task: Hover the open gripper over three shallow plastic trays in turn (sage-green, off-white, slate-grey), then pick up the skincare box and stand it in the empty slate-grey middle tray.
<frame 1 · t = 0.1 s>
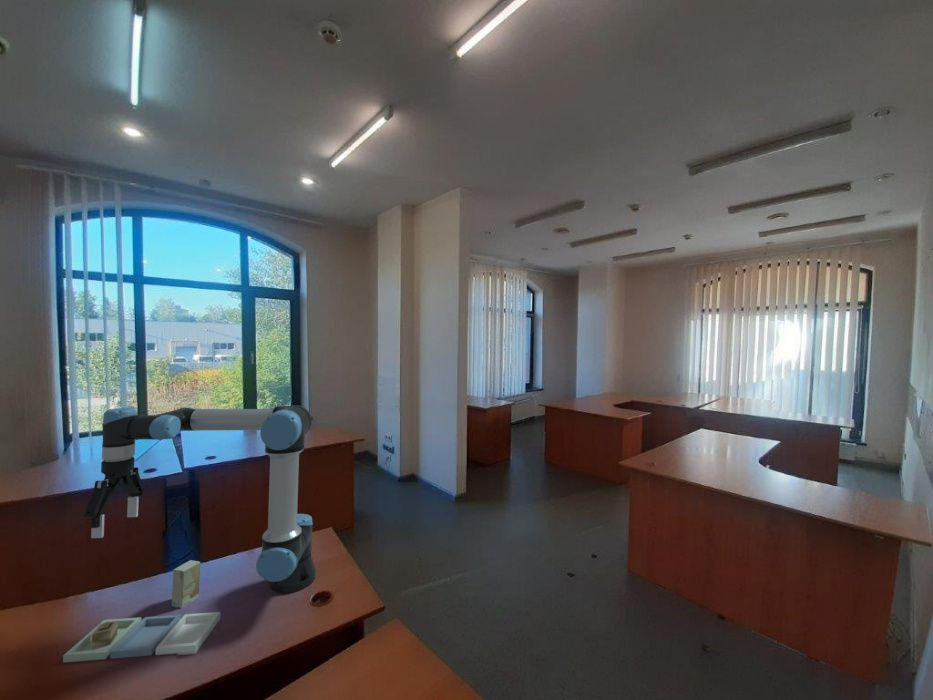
hand: (116, 526, 115), 28 cm above the table, fingers open, 13 cm apart
skincare box: (185, 603, 122), on the table
tray C: (104, 643, 104), on the table
tray B: (147, 640, 106), on the table
tray A: (189, 637, 107), on the table
letter cube: (104, 641, 104), point 1 cm above the table, touching tray C
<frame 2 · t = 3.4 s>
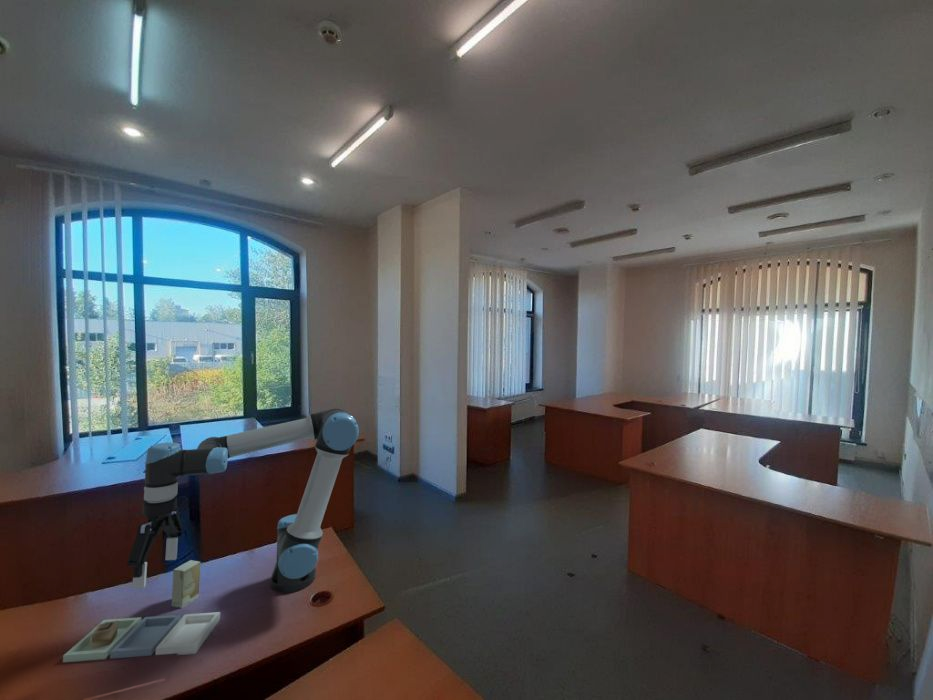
hand: (156, 572, 106), 19 cm above the table, fingers open, 13 cm apart
nothing on the table moved.
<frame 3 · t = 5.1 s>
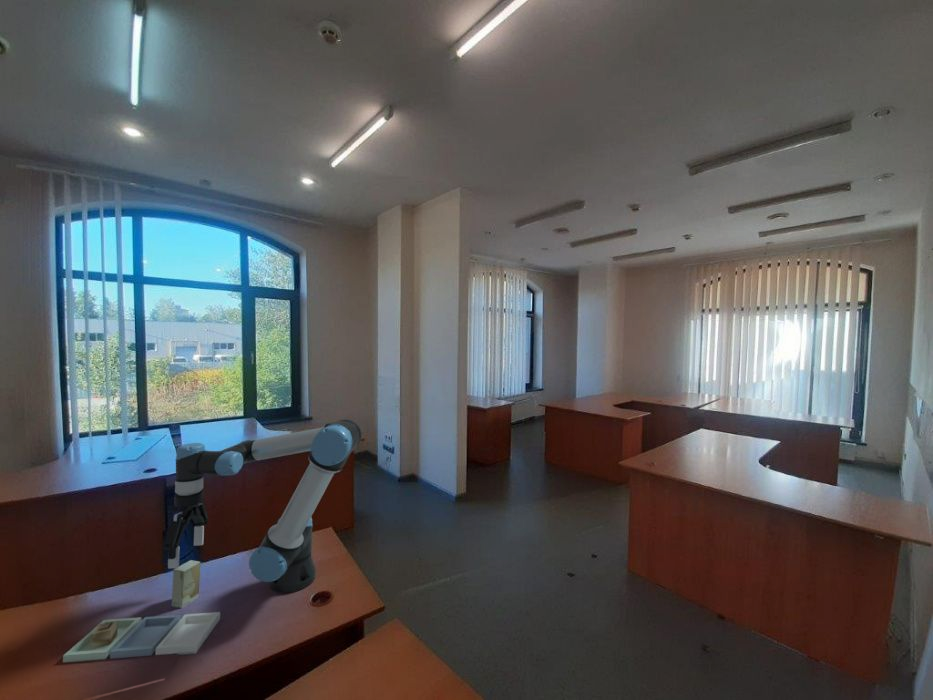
hand: (186, 555, 122), 15 cm above the table, fingers open, 13 cm apart
nothing on the table moved.
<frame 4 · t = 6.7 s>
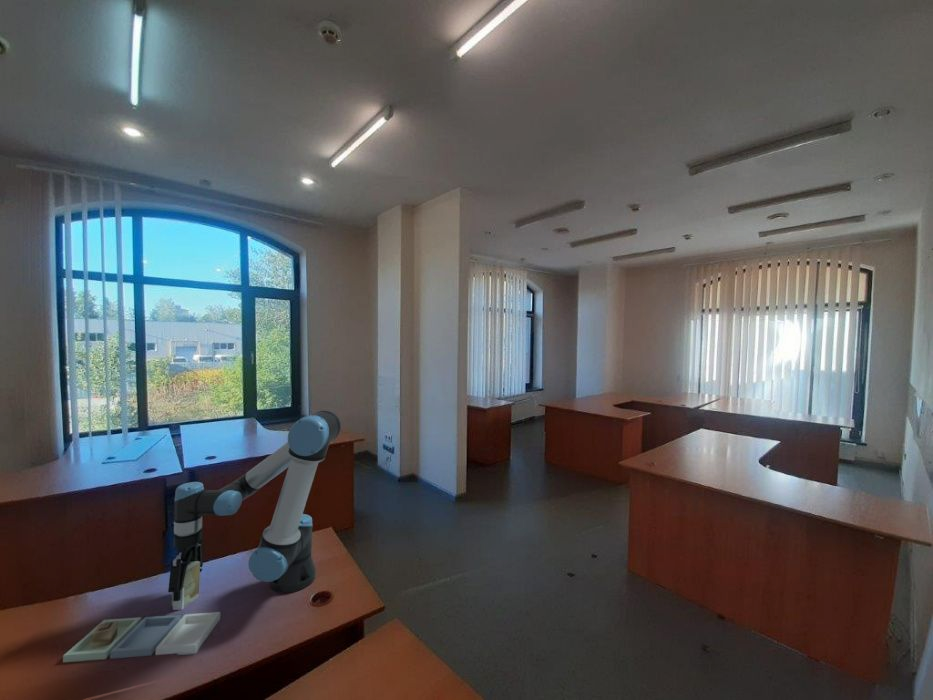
hand: (185, 600, 122), 1 cm above the table, fingers closed on skincare box, 7 cm apart
skincare box: (185, 603, 122), on the table, touching gripper
everything else where it was.
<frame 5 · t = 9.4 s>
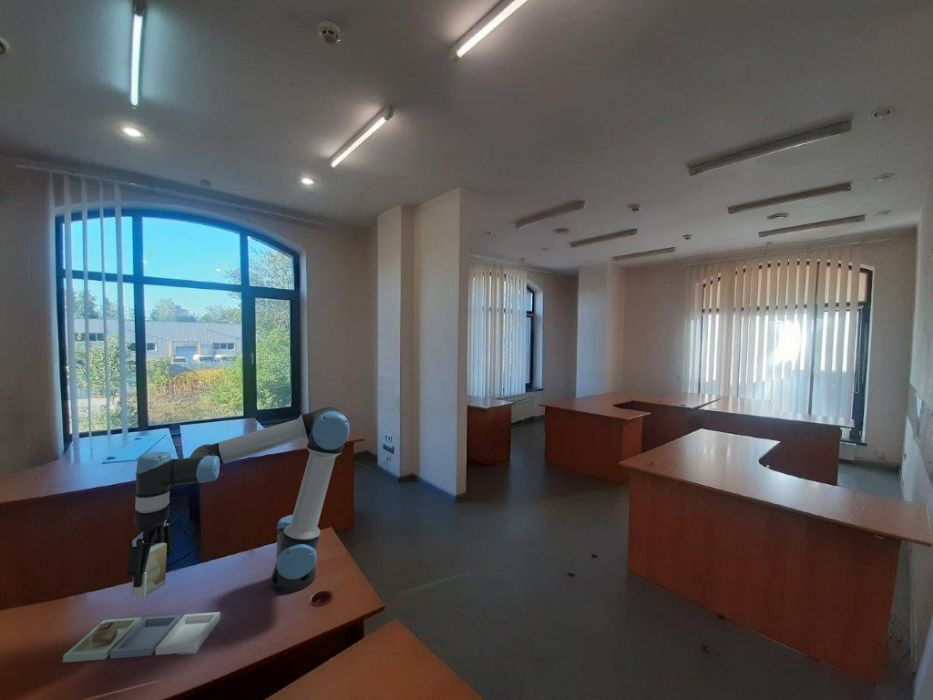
hand: (149, 587, 106), 15 cm above the table, fingers closed on skincare box, 7 cm apart
skincare box: (149, 590, 106), point 14 cm above the table, touching gripper
everything else where it was.
when the fingers open (2 cm above the table, at t = 12.2 s): skincare box stays where it is, resting on tray B.
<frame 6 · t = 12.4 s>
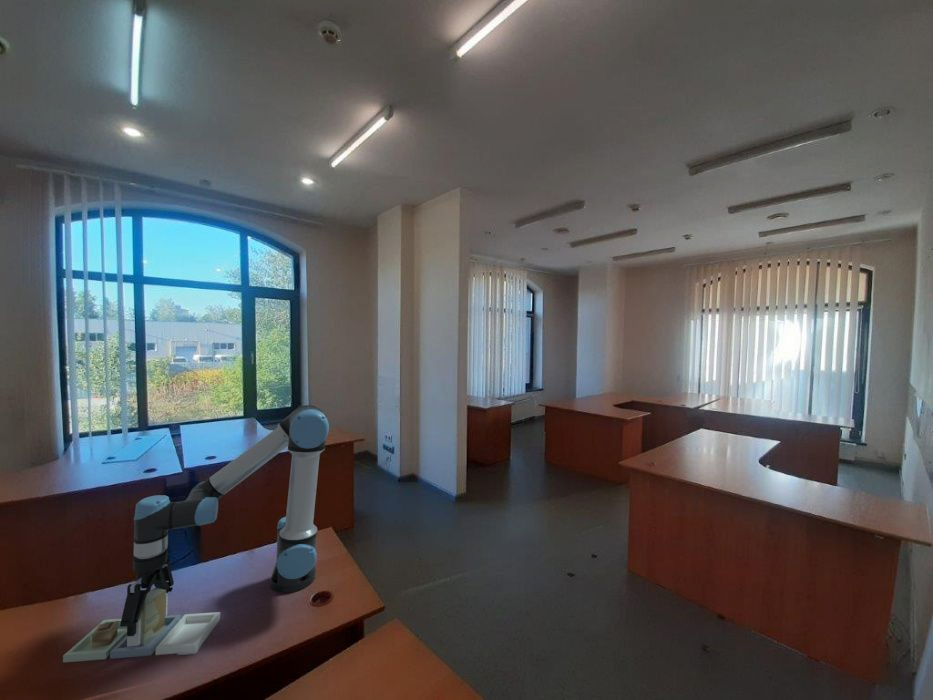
hand: (148, 629, 106), 3 cm above the table, fingers open, 10 cm apart
skincare box: (148, 638, 106), resting on tray B
everything else where it was.
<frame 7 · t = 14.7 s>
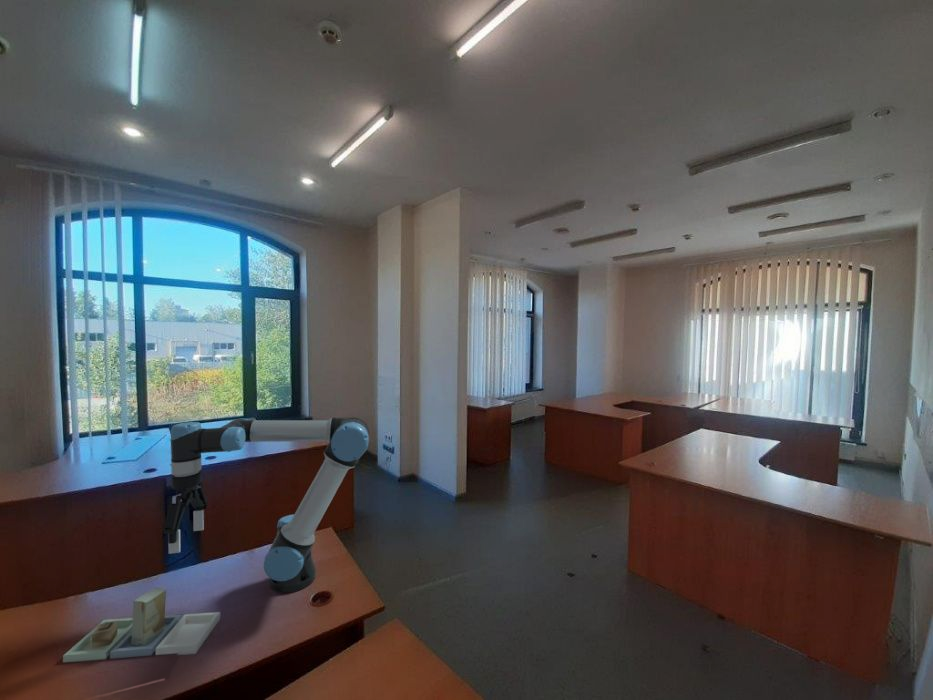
hand: (187, 540, 115), 24 cm above the table, fingers open, 13 cm apart
nothing on the table moved.
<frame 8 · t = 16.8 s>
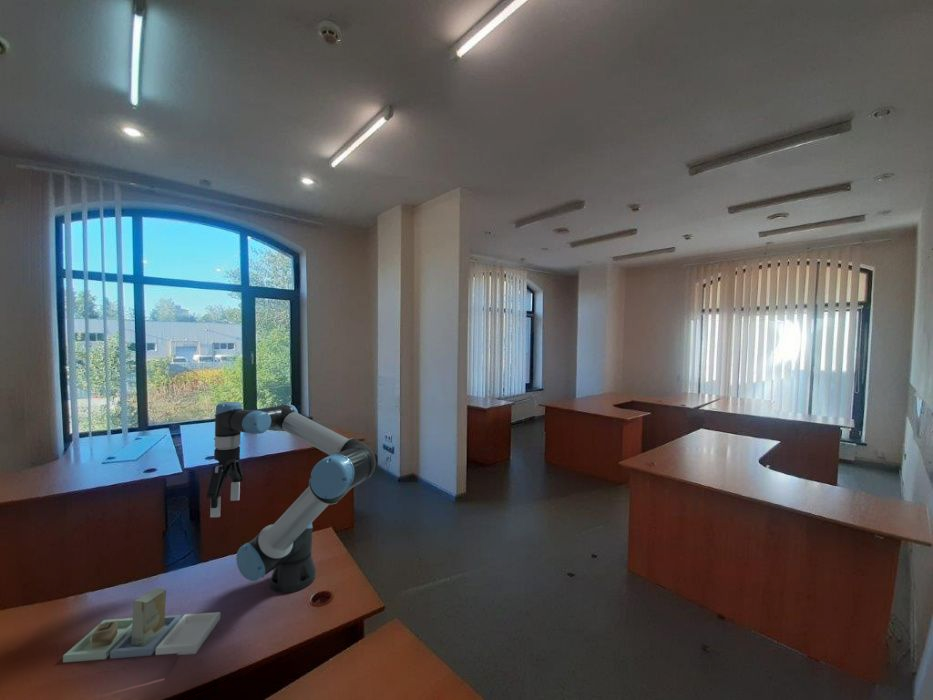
hand: (225, 508, 128), 29 cm above the table, fingers open, 13 cm apart
nothing on the table moved.
at the end: skincare box inside the target area on the tray B (0.3 cm from its centre), point 0.4 cm above the tray B's base; skincare box tilted 0°; the gripper is holding nothing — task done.
